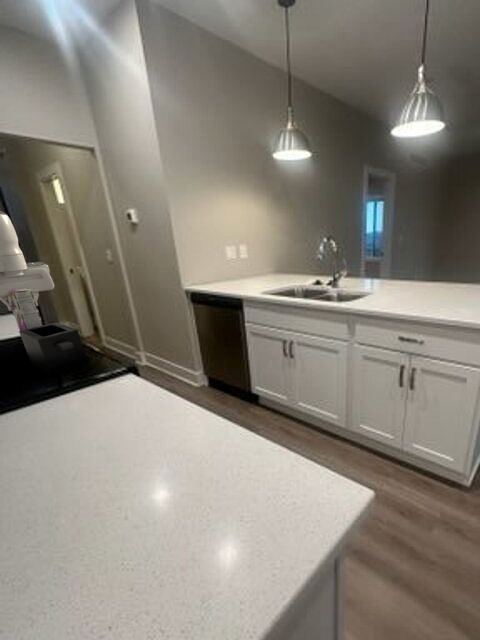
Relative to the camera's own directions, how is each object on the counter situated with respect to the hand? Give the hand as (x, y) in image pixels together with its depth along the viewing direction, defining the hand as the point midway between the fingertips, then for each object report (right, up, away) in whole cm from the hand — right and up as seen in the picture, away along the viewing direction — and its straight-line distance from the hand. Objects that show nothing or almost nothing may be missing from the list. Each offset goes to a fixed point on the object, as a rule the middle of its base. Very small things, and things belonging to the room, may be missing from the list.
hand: (23, 308), depth 113 cm
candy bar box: (0, -10, +4) cm, 10 cm away
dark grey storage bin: (+14, -18, -3) cm, 23 cm away
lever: (+22, -13, -12) cm, 28 cm away
